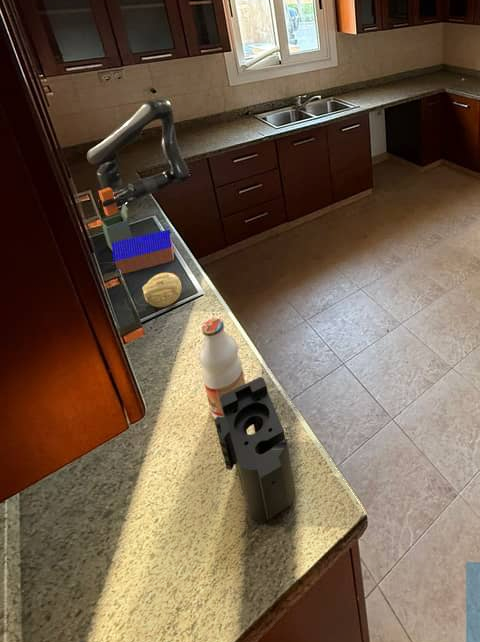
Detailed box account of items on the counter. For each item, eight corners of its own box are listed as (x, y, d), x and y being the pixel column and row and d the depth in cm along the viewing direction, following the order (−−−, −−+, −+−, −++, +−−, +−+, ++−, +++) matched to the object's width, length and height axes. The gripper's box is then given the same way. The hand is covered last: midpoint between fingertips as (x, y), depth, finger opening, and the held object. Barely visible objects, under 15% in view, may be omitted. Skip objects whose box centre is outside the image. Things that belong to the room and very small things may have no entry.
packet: (115, 210, 182) (108, 187, 178) (118, 212, 181) (112, 189, 177) (105, 214, 179) (98, 191, 175) (108, 216, 178) (101, 192, 174)
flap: (123, 204, 186) (124, 204, 186) (120, 212, 186) (121, 212, 187) (129, 210, 181) (130, 210, 181) (126, 218, 181) (127, 218, 182)
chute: (108, 245, 186) (100, 220, 181) (128, 238, 191) (121, 213, 187) (113, 253, 181) (106, 227, 176) (134, 245, 186) (127, 220, 182)
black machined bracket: (272, 435, 108) (261, 370, 99) (303, 514, 91) (293, 445, 83) (223, 462, 101) (207, 396, 93) (247, 552, 85) (230, 481, 77)
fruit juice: (241, 422, 111) (224, 340, 100) (205, 422, 111) (184, 340, 100) (253, 390, 119) (238, 311, 109) (219, 390, 120) (201, 311, 109)
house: (175, 260, 175) (169, 236, 171) (118, 275, 167) (110, 250, 162) (174, 246, 185) (168, 222, 181) (120, 259, 177) (113, 235, 172)
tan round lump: (146, 316, 146) (139, 291, 142) (149, 294, 156) (142, 270, 152) (183, 306, 151) (177, 281, 147) (184, 285, 161) (178, 262, 157)
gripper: (133, 176, 191) (90, 191, 178) (149, 183, 184) (106, 199, 171) (137, 191, 194) (95, 207, 181) (153, 199, 187) (111, 216, 173)
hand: (100, 203), depth 176 cm, fingers closed on packet, 3 cm apart
